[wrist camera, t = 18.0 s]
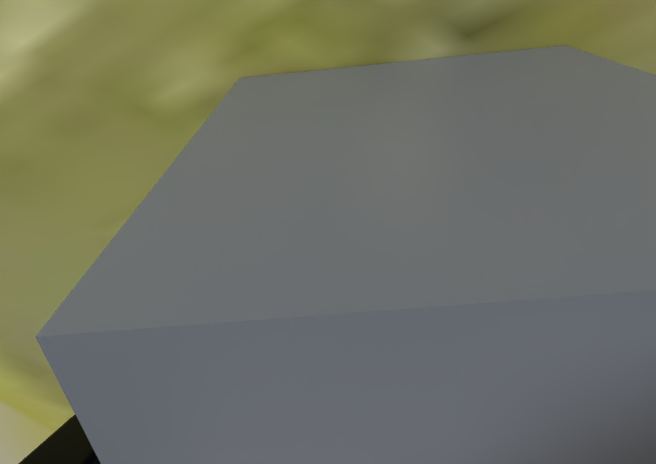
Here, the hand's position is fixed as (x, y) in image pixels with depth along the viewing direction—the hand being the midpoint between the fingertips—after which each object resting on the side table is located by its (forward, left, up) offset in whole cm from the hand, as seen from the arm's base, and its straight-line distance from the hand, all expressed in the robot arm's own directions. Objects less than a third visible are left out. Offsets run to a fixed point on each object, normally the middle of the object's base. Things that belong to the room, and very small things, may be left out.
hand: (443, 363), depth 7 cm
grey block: (0, 0, -6) cm, 6 cm away
